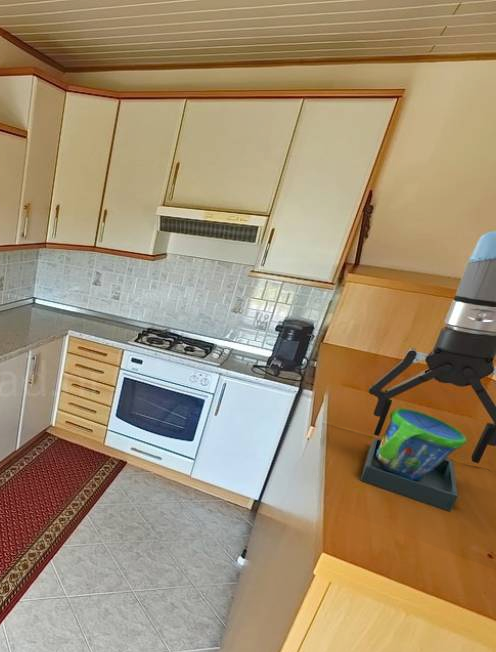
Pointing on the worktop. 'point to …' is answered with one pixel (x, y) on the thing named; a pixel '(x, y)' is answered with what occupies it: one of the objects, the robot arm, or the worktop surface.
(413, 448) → the snack cup
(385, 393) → the robot arm
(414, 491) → the rectangular tray
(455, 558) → the worktop surface
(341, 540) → the worktop surface
